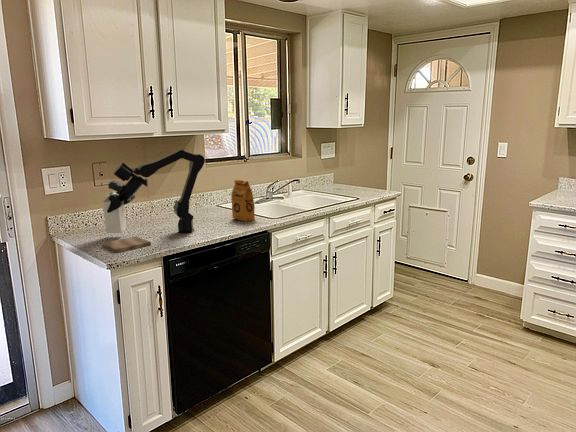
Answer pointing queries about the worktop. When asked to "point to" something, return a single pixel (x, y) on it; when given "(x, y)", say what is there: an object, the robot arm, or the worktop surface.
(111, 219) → the milk carton
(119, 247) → the cutting board
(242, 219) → the coffee package
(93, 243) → the worktop surface
